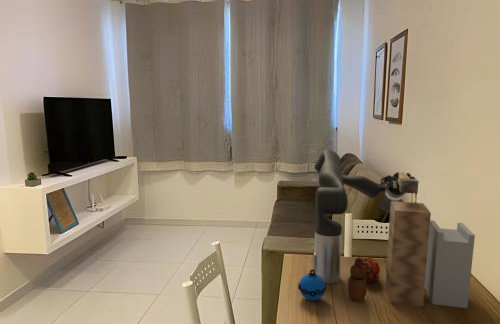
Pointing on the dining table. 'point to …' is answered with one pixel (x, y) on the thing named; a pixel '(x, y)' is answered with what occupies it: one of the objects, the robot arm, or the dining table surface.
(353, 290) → the wooden figurine
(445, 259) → the grey post
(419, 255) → the walnut post
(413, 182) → the light wooden block
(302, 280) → the ornament
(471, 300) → the dining table surface
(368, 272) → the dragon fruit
